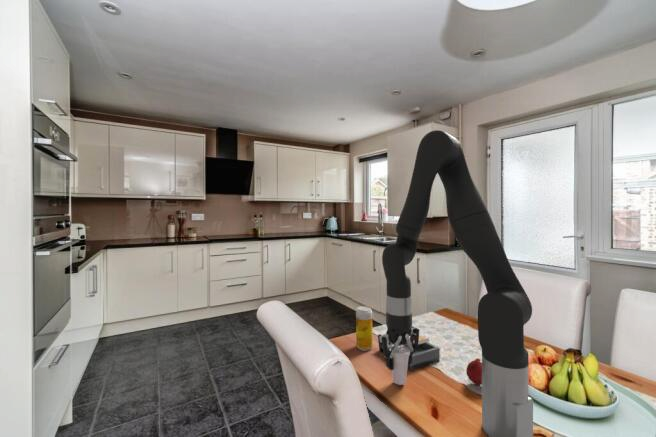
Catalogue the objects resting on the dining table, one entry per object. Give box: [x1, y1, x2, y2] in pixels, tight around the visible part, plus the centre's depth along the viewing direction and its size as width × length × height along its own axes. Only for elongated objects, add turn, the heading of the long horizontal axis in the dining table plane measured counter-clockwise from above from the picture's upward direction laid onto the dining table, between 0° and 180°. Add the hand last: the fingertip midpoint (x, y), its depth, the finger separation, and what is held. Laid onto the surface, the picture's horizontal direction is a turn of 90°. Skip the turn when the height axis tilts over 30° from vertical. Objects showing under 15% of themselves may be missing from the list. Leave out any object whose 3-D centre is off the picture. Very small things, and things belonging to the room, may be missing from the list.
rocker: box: [409, 335, 430, 344], centre depth 104 cm, size 12×10×2 cm
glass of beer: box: [355, 305, 374, 352], centre depth 110 cm, size 6×6×15 cm
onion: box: [465, 357, 482, 386], centre depth 86 cm, size 6×6×8 cm
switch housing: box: [387, 339, 441, 372], centre depth 104 cm, size 16×13×4 cm
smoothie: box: [390, 345, 410, 386], centre depth 86 cm, size 6×6×14 cm
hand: (399, 365), depth 86 cm, fingers closed on smoothie, 6 cm apart
